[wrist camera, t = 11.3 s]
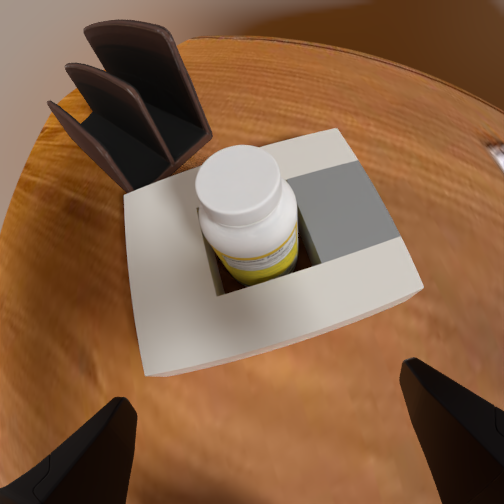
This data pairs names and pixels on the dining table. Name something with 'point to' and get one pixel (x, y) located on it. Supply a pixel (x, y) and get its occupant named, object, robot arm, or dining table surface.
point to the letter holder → (136, 104)
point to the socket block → (273, 291)
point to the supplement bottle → (248, 214)
